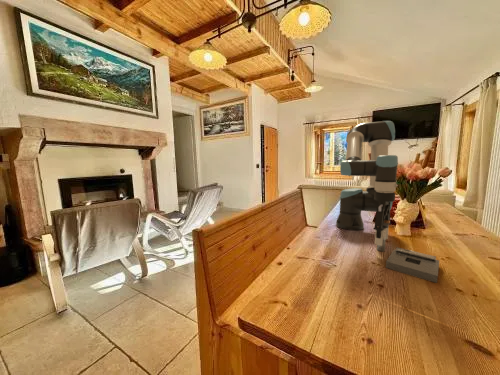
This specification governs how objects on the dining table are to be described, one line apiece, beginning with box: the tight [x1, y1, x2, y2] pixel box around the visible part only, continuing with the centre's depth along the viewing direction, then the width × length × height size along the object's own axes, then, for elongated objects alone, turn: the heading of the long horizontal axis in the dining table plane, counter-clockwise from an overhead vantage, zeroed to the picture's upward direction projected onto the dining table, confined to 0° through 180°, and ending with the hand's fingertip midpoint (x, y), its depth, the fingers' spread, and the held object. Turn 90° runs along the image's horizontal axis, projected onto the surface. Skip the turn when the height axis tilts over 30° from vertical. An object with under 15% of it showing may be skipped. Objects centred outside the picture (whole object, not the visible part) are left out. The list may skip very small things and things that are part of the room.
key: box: [376, 219, 391, 253], centre depth 88 cm, size 5×4×14 cm
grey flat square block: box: [385, 246, 440, 284], centre depth 74 cm, size 14×14×4 cm
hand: (381, 241), depth 89 cm, fingers open, 9 cm apart
